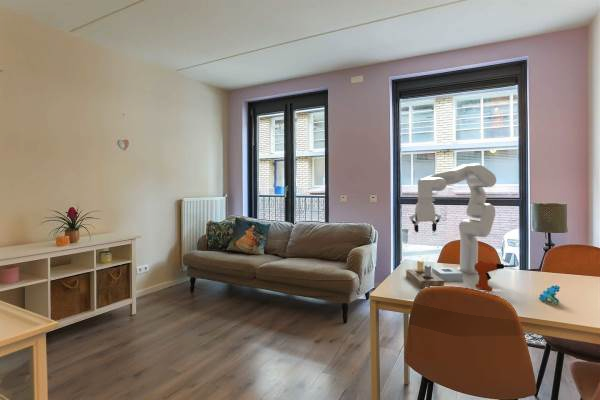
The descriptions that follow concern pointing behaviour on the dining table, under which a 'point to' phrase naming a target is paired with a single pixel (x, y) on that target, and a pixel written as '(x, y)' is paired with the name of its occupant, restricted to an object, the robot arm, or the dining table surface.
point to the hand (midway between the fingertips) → (425, 231)
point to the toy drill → (484, 276)
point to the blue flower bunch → (550, 294)
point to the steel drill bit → (427, 272)
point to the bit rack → (420, 281)
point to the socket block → (448, 274)
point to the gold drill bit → (420, 267)
